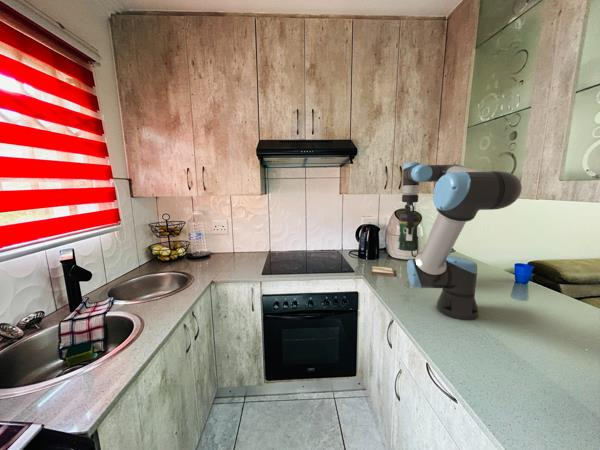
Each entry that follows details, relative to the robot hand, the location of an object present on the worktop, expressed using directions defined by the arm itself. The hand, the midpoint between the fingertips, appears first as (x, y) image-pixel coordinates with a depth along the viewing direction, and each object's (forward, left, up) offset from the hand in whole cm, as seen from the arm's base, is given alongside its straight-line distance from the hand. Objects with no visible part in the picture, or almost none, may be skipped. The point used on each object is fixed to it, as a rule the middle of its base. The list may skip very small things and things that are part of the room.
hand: (407, 238), depth 129 cm
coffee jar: (0, 0, -6) cm, 6 cm away
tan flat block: (+20, +11, -26) cm, 35 cm away
